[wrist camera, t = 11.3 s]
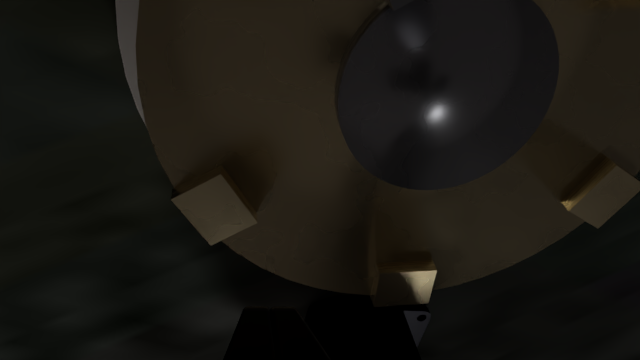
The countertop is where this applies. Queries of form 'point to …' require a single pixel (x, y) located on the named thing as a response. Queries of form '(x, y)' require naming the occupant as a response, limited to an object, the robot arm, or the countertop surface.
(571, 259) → the countertop surface
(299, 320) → the robot arm
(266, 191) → the shallow round tray
